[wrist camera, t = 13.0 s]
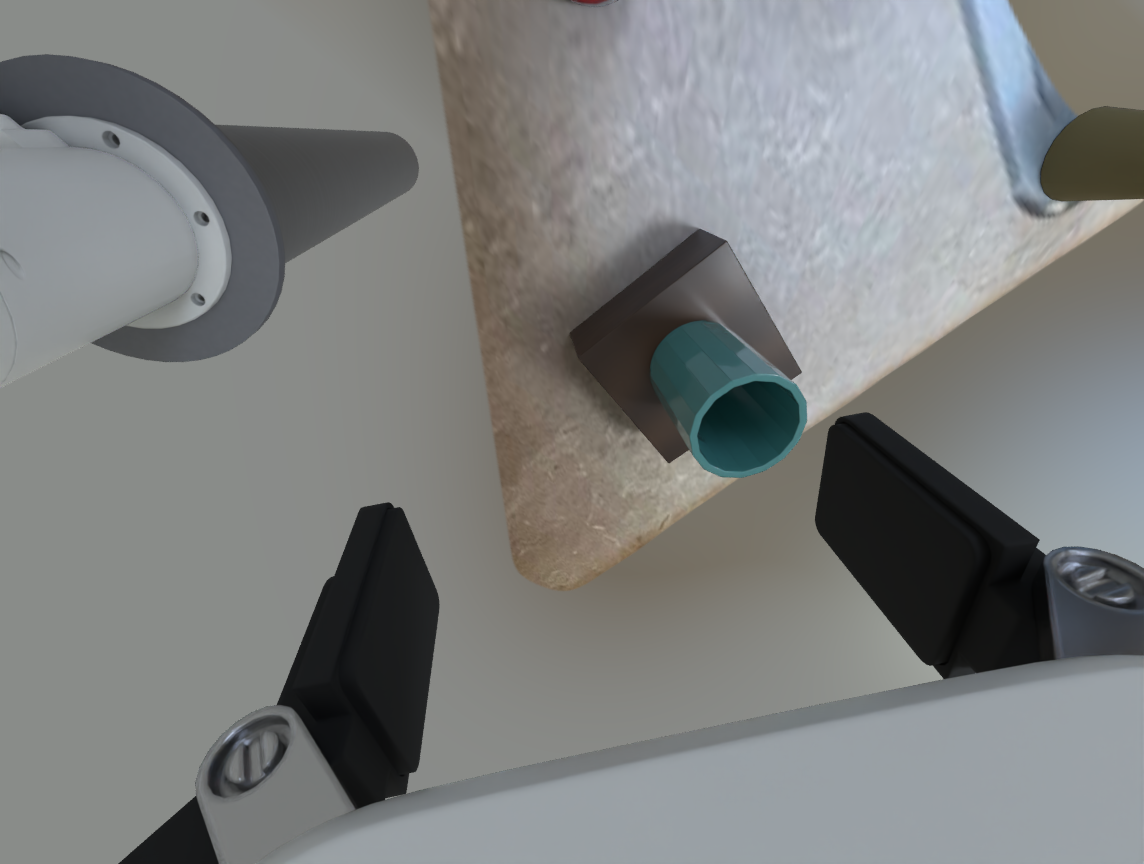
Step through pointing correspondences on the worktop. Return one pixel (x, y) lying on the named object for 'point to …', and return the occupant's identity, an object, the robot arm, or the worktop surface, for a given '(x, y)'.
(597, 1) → the soda can
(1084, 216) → the worktop surface
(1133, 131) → the olive pepper mill
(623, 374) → the plate
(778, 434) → the teal cup
